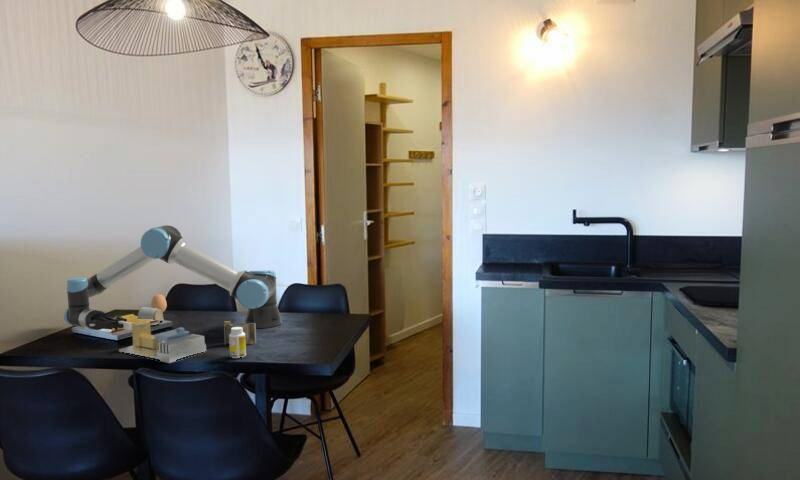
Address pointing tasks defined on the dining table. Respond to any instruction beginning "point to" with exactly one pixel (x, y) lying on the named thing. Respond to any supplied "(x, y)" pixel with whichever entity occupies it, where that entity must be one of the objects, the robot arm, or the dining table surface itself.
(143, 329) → the beige wooden block
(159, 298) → the egg
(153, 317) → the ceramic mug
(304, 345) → the dining table surface
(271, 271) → the robot arm
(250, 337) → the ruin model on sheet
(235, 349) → the supplement bottle
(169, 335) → the grey building model
